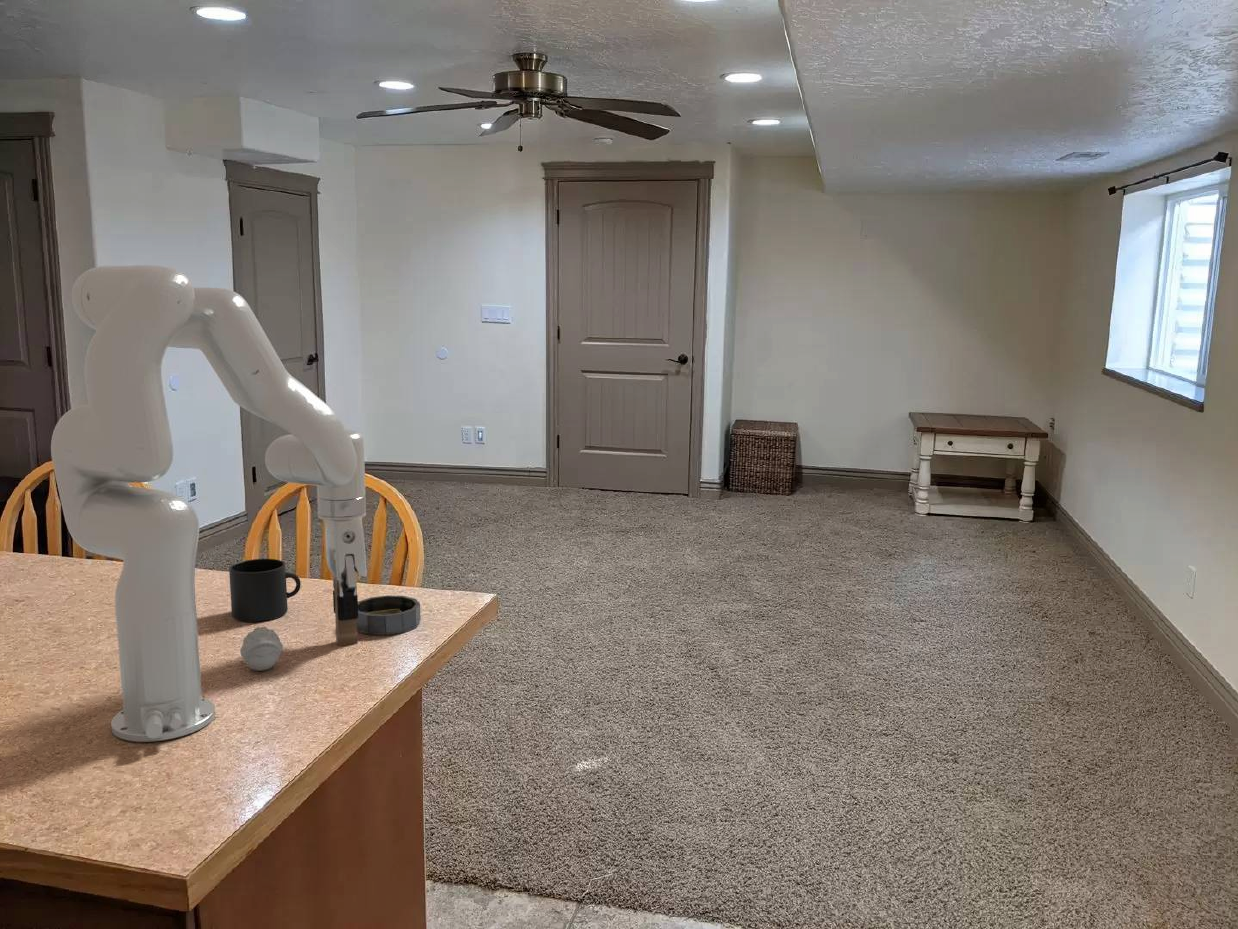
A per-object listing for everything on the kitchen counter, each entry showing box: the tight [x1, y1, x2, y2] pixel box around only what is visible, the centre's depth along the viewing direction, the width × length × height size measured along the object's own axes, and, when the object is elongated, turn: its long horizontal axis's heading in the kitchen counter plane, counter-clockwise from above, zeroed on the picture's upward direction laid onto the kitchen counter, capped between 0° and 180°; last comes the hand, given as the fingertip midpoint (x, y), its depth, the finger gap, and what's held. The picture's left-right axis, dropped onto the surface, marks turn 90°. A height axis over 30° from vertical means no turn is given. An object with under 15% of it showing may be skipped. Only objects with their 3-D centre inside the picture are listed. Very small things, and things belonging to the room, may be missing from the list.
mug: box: [228, 558, 302, 623], centre depth 174 cm, size 9×12×9 cm
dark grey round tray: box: [357, 594, 421, 637], centre depth 170 cm, size 11×11×4 cm
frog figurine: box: [239, 626, 283, 672], centre depth 148 cm, size 6×7×7 cm
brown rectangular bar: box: [333, 574, 358, 647], centre depth 160 cm, size 2×3×12 cm
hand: (345, 615), depth 160 cm, fingers open, 2 cm apart
